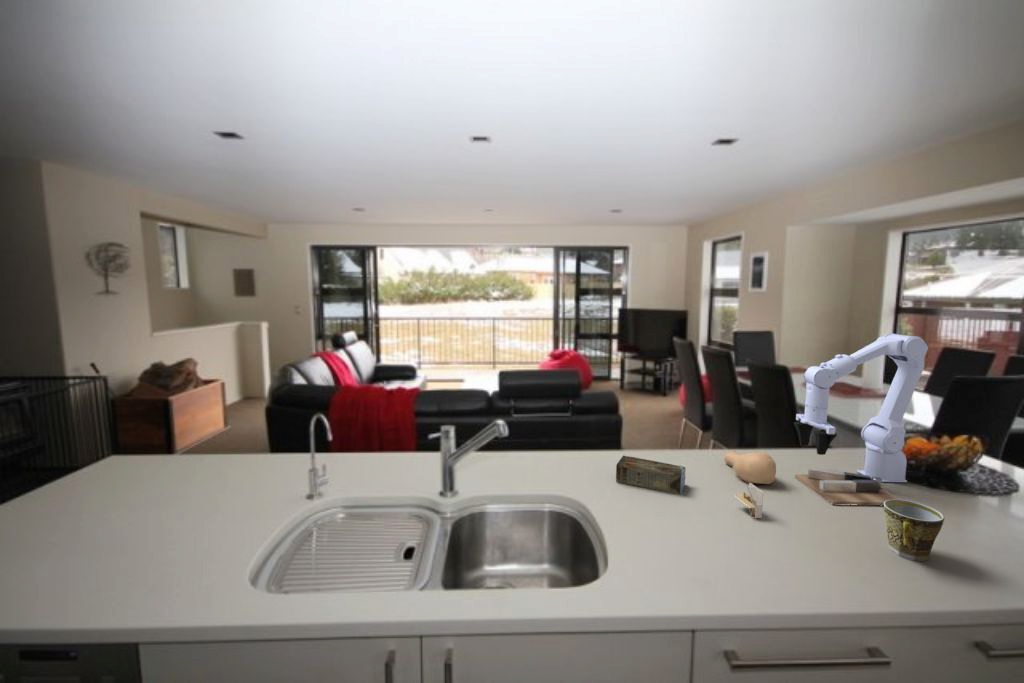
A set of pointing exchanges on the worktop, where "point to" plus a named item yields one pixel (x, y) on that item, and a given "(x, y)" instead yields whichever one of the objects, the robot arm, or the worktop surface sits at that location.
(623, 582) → the worktop surface
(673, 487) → the beverage carton
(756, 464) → the squash
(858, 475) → the bar
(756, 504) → the architectural model
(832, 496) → the board
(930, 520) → the ceramic cup
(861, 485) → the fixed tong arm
